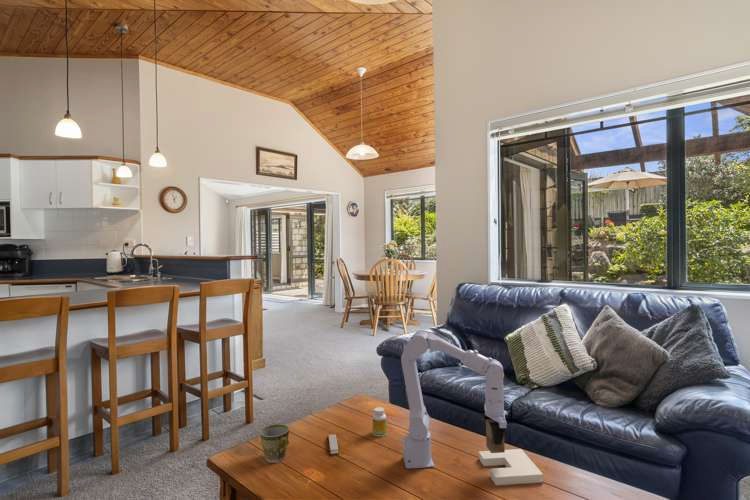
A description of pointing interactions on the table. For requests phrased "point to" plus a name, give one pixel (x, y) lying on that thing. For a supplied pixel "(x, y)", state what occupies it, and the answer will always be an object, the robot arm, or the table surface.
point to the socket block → (511, 467)
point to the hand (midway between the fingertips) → (495, 440)
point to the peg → (490, 440)
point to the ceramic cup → (274, 442)
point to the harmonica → (333, 445)
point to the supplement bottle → (379, 422)
